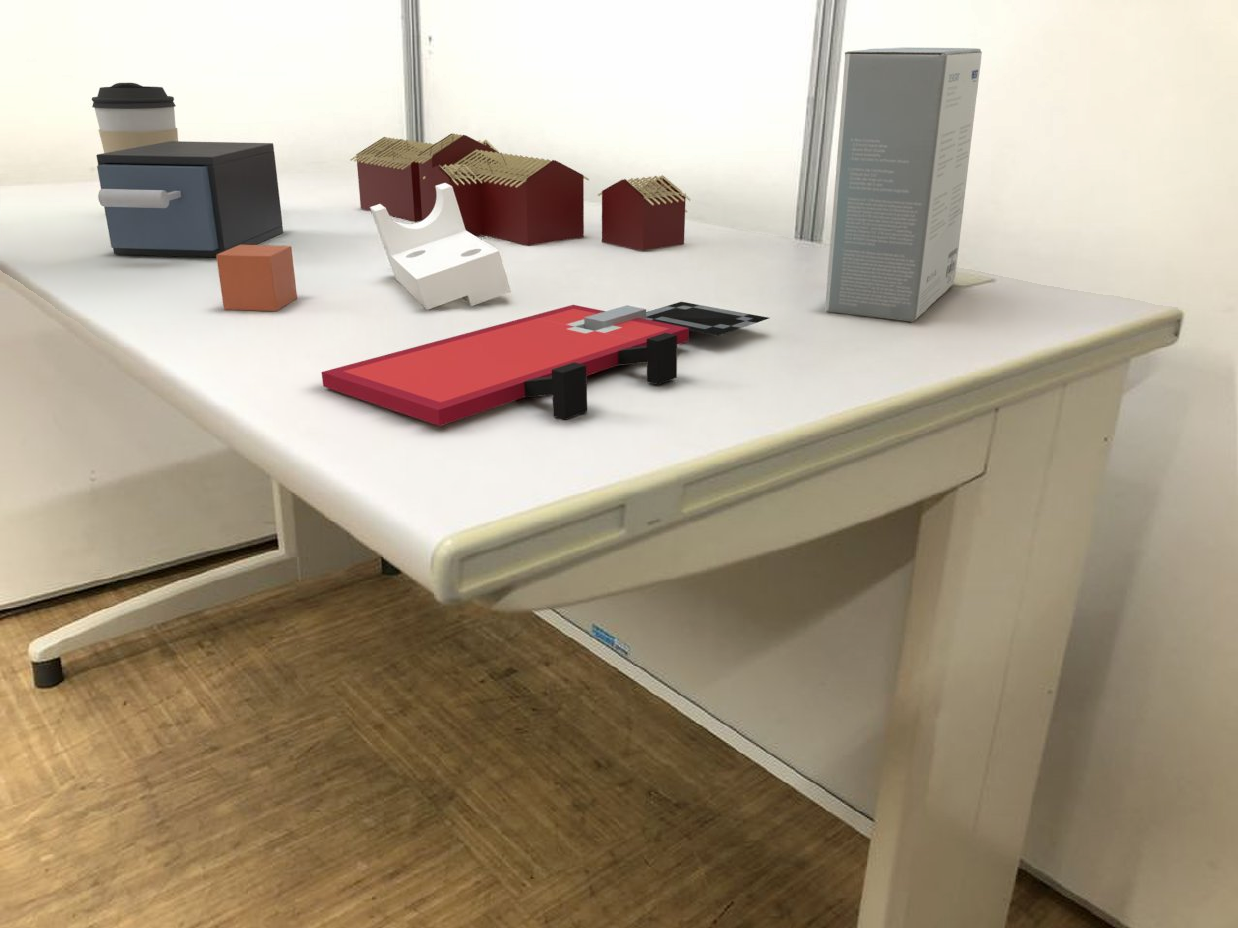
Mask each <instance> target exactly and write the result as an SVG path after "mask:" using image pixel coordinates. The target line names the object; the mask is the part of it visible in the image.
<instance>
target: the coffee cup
mask: <svg viewBox="0 0 1238 928" xmlns="http://www.w3.org/2000/svg"><path fill="white" fill-rule="evenodd" d="M91 101H92V106H91V108H93V109H94V113H95V117H96V120H97V124H98V128H99V129H98V133H99V137H100V141H101V145H102V149H103V153H108V152H114V151H119V150H125V149H130V148H136V147H142V146H147V145H153V144H158V143H164V142H169V141H179V133H178V128H177V126H176V113H175V107H176V106H177V105H176V103H175V102H174V101H175V97H174V96H172V95H168V94H167V92H166V91H165V89H164V87H163V86H149V85H147V86H146V85H145V86H144V85H141V84H138V83H136V82H116V83H114V84H112V85H111V86H102V87H101V86H100V87H99V89H98V93H97V96H92V97H91Z"/></svg>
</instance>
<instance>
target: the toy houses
mask: <svg viewBox="0 0 1238 928" xmlns="http://www.w3.org/2000/svg"><path fill="white" fill-rule="evenodd" d="M349 160H350V162H352V161H353V162H356V167H357V181H358V192H359V204H360V209H361V210H365V211H369V212H371V209H370V207H372V206H375V205H378V204H381V205H382V206H384V207H385V208H386V210H387V212H388V214H389V215H390V217H394V218H399V219H401V220H407V221H411V222H415V223H416V222H421V221H422V220H424V219H425V218H427V217H428V216H429V215H430V213H431V212H432V210H433V209H434V206H435V203H436V197H437V194H436V187H435V186H436V185H440V184H443V183H446V184H448V185H450V186H452V188H453V191H454V194H455V197H456V200H457V204H458V207H459V210H460V213H461V217H462V220H463V223H464V226H465V229H466V231H468V232H469V233H471V234H473V235H474V236H476V237H477V236H482V235H483V236H487V237H492V238H495V239H499V240H504V241H508V242H512V243H516V244H521V245H525V246H533V245H538V244H539V245H540V244H546V243H553V242H560V241H567V240H574V239H581V238H585V233H584V232H585V212H584V211H585V205H584V204H585V199H584V196H585V194H584V193H585V189H584V187H585V185H584V184H585V183H584V182H585V181H584V180H586V181H590V178H588V177H586V176H584V174H582V173H581V172H579V171H576V170H575V169H573V168H571V167H569V166H567V165H566V164H563V163H561V162H560V161H558V160H556V159H552V160H550V159H548V158H546V159H544V158H539V157H533V156H530V157H529V156H527V155H525V156H524V155H517V154H513V153H510V154H508V153H505V152H500V151H499V150H498V149H497V148H495V147H494V146H493V144H491V143H490V142H489V141H488V140H487V139H484V140H483V141H482V140H481V139H479V140H476V139H474V138H472V137H471V136H468V135H465V134H458V133H450V134H448V135H446V136H445V137H443V138H442V139H440V140H439V141H438V142H435V143H431V142H429V143H428V142H423V141H415V140H413V141H412V140H409V139H404V138H394V137H393V138H392V137H387V136H383V137H382V138H380V139H378V140H377V141H375V142H373V143H372V144H370V145H369V146H367V147H366V148H364V149H363V150H361V151H359V152H358V153H356V154H355V156H353V157H352V158H350V159H349ZM600 196H601V243H605V244H609V245H614V246H619V247H623V248H627V249H628V248H629V249H633V250H638V251H642V252H644V251H650V250H656V249H662V248H668V247H675V246H681V245H685V231H686V229H685V228H686V213H688V210H687V209H686V201H687V200H688V201H689V202H691V198H690V197H689V196H688V195H687V194H686V192H685V193H684V192H683V191H682V190H681V189H680V188H678V186H676V185H675V184H674V183H673V182H672V181H670V180H669V178H667V177H666V176H664V175H663V174H661V175H659V176H657V175H654V176H648V177H647V178H646V177H645V176H643V177H641V178H639V177H636V178H629V179H628V180H627V179H626V178H623V179H620V180H619V181H617V182H615V183H613V184H611V185H610V186H608V187H605V189H603V190H601V192H600V193H597V197H600Z"/></svg>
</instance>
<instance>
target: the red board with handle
mask: <svg viewBox="0 0 1238 928" xmlns="http://www.w3.org/2000/svg"><path fill="white" fill-rule="evenodd" d="M769 319H770V317H768V316H762V315H758V314H753V313H746V312H740V311H736V310H734V311H733V310H729V309H724V308H719V307H713V306H708V305H703V304H696V303H692V302H686V301H679V302H675V303H672V304H669V305H665V306H661V307H657V308H655V309H652V310H648V311H647V308H644V307H643V308H642V307H638V306H633V305H623V306H620V307H616V308H612V309H609V310H602V309H598V308H597V309H596V308H592V307H588V306H587V307H586V306H581V305H576V304H571V305H567V306H562V307H559V308H556V309H555V308H554V309H552V310H548V311H544V312H541V313H537V314H533V315H529V316H526V317H521V318H518V319H515V320H510V321H507V322H503V323H500V324H495V325H492V326H488V327H484V328H481V329H477V330H473V331H470V332H466V333H462V334H459V335H453V336H451V337H447V338H443V339H440V340H436V341H431V342H427V343H425V344H421V345H417V346H414V347H409V348H406V349H402V350H399V351H395V352H391V353H387V354H384V355H380V356H376V357H372V358H368V359H365V360H361V361H357V362H353V363H350V364H347V365H342V366H339V367H335V368H332V369H327V370H323V371H321V380H322V387H324V388H327V389H328V390H329V389H330V390H332V391H335V392H338V393H341V394H343V395H347V396H350V397H353V398H355V399H359V400H362V401H365V402H368V403H370V404H372V405H373V404H374V405H376V406H378V407H383V408H384V409H388V410H391V411H394V412H397V413H400V414H402V415H405V416H408V417H412V418H413V419H417V420H421V421H423V422H427V423H429V424H432V425H435V426H438V427H441V426H444V425H447V424H450V423H453V422H456V421H459V420H461V419H464V418H467V417H470V416H473V415H476V414H479V413H482V412H485V411H489V410H491V409H493V408H497V407H500V406H502V405H506V404H509V403H511V402H514V401H518V400H521V399H523V398H533V397H543V396H544V397H545V396H552V411H553V417H554V418H558V419H562V420H565V421H566V420H569V419H571V418H573V417H576V416H579V415H581V414H584V413H587V412H588V387H587V386H588V384H587V383H588V381H587V380H588V379H587V377H588V376H591V375H593V374H596V373H599V372H602V371H605V370H609V369H611V368H614V367H617V366H625V365H634V364H645V363H646V382H647V383H650V384H653V385H658V386H659V385H661V384H664V383H666V382H669V381H672V380H674V379H677V377H678V345H681V344H685V343H688V342H689V341H690V331H691V332H695V333H701V334H706V335H710V336H711V335H712V336H715V337H719V336H723V335H726V334H729V333H732V332H735V331H737V330H740V329H743V328H745V327H749V326H751V325H754V324H757V323H760V322H763V321H766V320H769Z"/></svg>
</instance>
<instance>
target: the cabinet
mask: <svg viewBox="0 0 1238 928" xmlns="http://www.w3.org/2000/svg"><path fill="white" fill-rule="evenodd" d="M274 147H275V146H274V143H273V142H232V141H230V142H229V141H227V142H226V141H179V140H178V141H169V142H164V143H158V144H153V145H147V146H142V147H136V148H130V149H125V150H119V151H114V152H108V153H104V152H103V153H98V154H96V161H97V166H98V165H103V164H107V165H122V164H165V165H206V167H207V168H208V175H209V183H210V190H211V197H212V204H213V211H214V219H215V226H216V233H217V240H218V247H219V248H218V249H216V250H213V251H208V250H172V249H136V248H112V251H113V255H118V256H119V255H122V256H153V257H156V256H157V257H186V258H187V257H189V258H191V257H192V258H195V257H196V258H217V257H216V255H217V254H219V253H222V252H224V251H226V250H229V249H231V248H234V247H236V246H238V245H259V244H260V243H262V242H266V241H267V240H270V239H272V238H274V237H277V236H278V235H280V234H283V233H284V227H283V225H284V224H283V216H282V207H281V199H280V191H279V181H278V172H277V165H276V164H277V163H276V156H275V148H274Z"/></svg>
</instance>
